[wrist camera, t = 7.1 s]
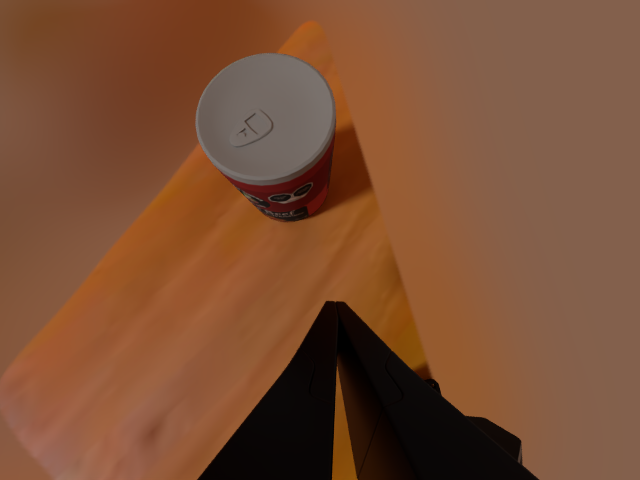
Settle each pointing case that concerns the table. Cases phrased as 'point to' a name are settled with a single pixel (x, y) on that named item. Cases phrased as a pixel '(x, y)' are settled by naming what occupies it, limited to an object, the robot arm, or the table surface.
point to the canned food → (271, 132)
